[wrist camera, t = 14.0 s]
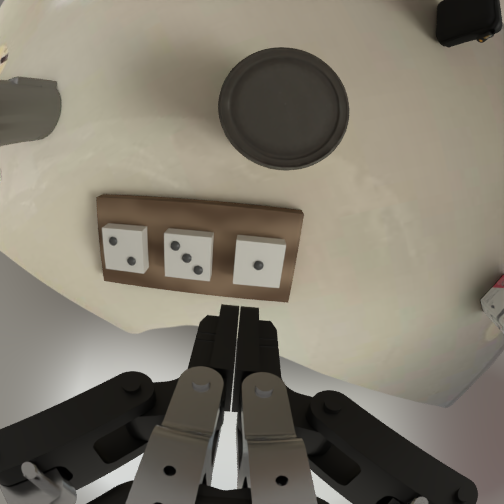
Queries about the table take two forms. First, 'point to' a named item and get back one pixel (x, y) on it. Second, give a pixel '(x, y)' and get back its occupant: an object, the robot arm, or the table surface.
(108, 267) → the tile two
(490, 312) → the ink box
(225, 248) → the tile board
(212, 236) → the tile three
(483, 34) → the carrying case or bag
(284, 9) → the table surface
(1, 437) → the robot arm
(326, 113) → the coffee can
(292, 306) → the table surface
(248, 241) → the tile one
